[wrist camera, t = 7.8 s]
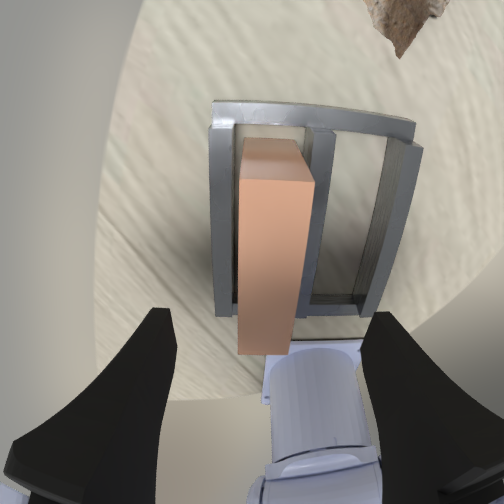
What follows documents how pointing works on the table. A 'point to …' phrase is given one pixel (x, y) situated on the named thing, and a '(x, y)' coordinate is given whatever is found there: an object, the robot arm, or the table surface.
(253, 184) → the terracotta strip
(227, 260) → the drying rack
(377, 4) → the stone fragment
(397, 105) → the table surface
